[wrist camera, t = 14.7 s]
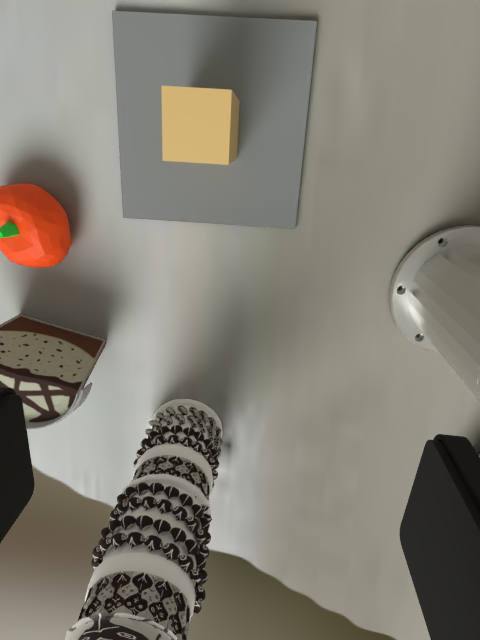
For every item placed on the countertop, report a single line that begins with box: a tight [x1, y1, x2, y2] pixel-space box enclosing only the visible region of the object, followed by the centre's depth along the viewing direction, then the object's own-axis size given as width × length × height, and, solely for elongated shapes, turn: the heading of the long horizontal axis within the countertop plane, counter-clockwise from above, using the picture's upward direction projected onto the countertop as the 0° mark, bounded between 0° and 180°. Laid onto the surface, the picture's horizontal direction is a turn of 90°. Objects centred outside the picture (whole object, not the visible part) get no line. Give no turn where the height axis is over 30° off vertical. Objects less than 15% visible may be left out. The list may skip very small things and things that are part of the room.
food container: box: [0, 314, 106, 429], centre depth 42 cm, size 12×6×10 cm, turn 73°
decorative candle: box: [65, 399, 223, 640], centre depth 38 cm, size 9×9×25 cm
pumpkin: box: [0, 183, 71, 268], centre depth 38 cm, size 7×8×6 cm
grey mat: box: [112, 11, 317, 229], centre depth 37 cm, size 16×16×1 cm
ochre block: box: [161, 86, 240, 165], centre depth 32 cm, size 4×4×9 cm
